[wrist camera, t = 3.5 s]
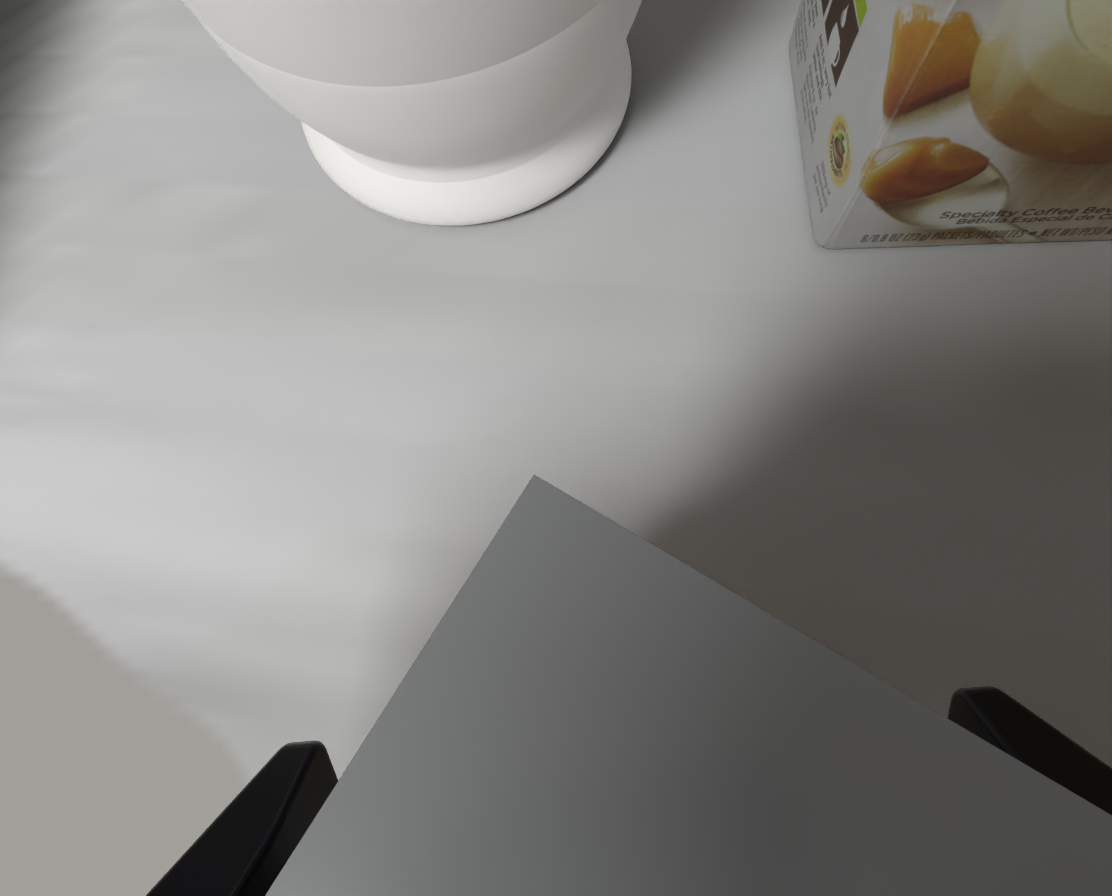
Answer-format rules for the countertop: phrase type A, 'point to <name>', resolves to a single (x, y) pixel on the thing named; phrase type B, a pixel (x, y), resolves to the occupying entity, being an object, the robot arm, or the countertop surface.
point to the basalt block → (669, 752)
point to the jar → (440, 94)
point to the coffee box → (955, 120)
